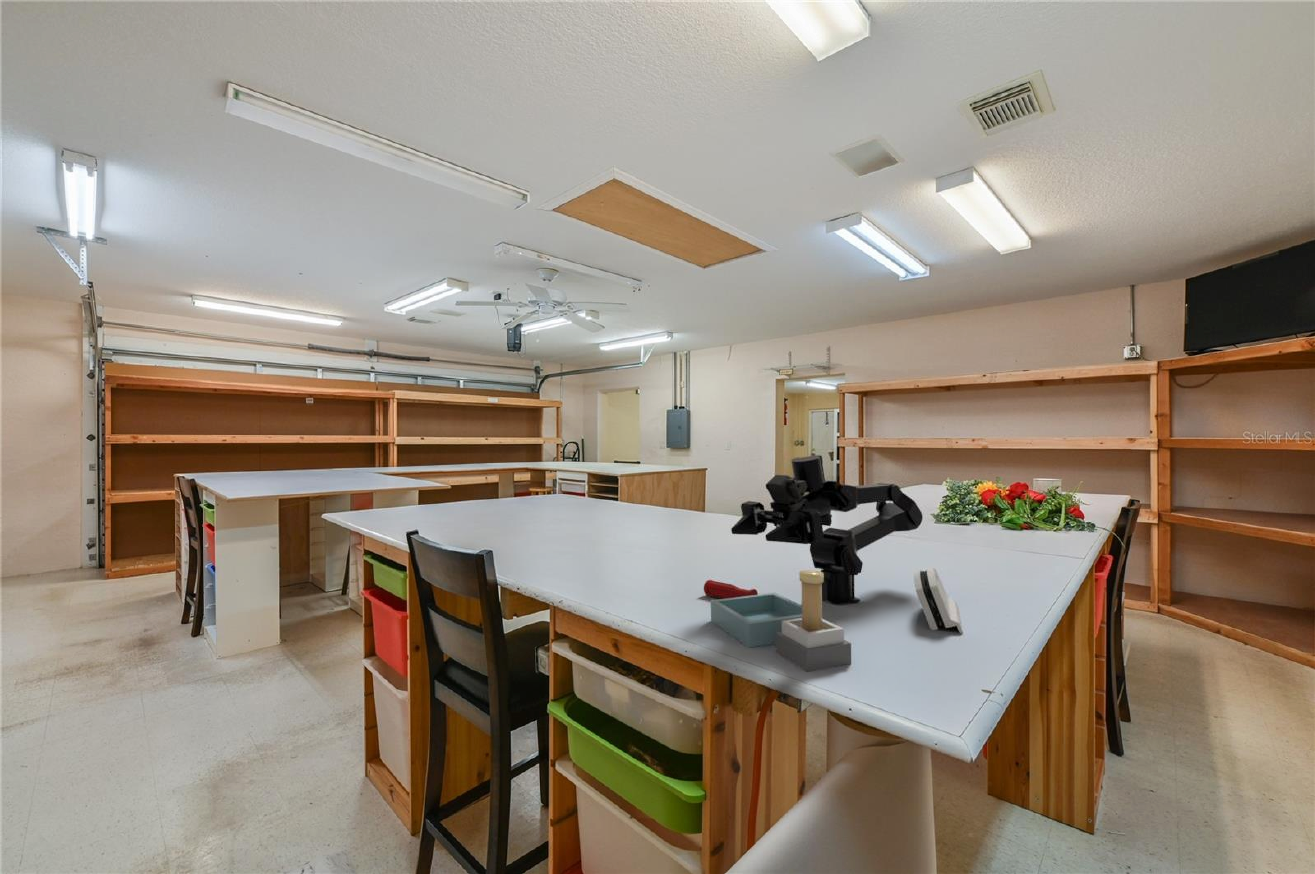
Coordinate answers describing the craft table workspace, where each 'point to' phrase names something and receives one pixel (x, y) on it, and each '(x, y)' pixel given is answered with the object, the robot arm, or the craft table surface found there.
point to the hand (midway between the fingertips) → (748, 534)
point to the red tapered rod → (726, 590)
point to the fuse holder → (813, 645)
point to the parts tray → (754, 617)
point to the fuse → (811, 599)
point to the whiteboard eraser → (936, 601)
